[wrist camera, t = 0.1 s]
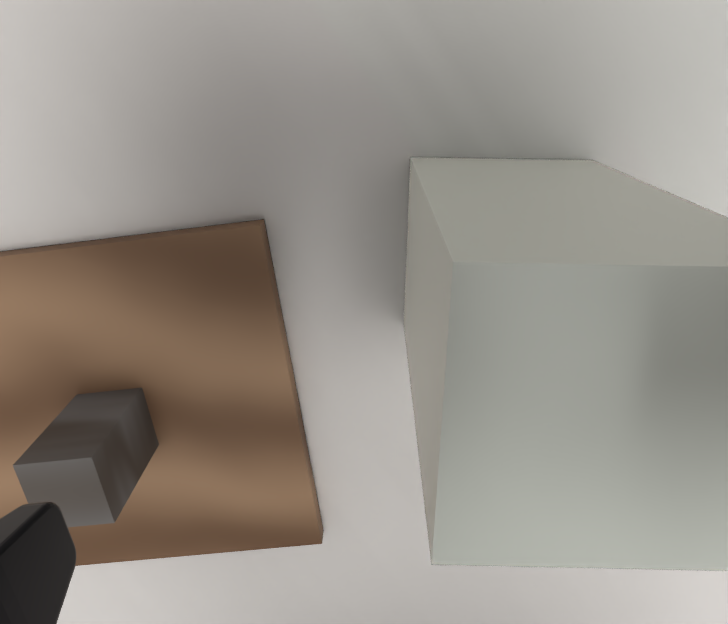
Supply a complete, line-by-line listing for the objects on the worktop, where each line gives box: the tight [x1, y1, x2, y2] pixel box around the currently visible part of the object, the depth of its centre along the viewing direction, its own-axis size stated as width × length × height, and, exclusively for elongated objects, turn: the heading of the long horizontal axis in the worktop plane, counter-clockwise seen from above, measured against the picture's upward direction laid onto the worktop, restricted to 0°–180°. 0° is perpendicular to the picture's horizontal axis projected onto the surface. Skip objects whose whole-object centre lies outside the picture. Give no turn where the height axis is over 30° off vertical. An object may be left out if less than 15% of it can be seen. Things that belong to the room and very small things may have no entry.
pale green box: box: [404, 157, 728, 571], centre depth 16 cm, size 6×6×12 cm
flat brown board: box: [0, 219, 323, 566], centre depth 22 cm, size 14×14×5 cm
